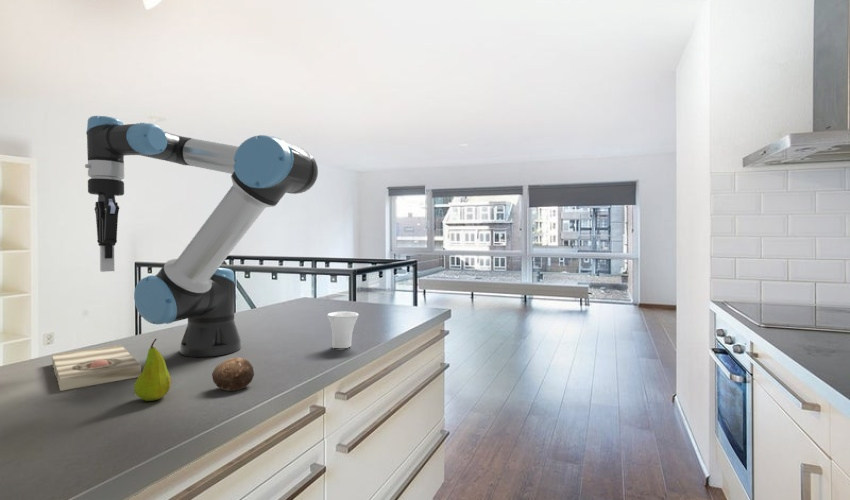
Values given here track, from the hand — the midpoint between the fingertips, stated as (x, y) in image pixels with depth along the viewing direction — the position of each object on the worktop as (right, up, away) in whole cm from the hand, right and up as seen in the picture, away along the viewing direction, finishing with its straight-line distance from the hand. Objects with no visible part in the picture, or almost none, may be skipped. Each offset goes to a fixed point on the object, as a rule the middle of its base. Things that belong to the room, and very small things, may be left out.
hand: (107, 271), depth 112 cm
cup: (+58, -23, +14) cm, 64 cm away
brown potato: (+41, -24, -20) cm, 52 cm away
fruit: (+29, -24, -27) cm, 46 cm away
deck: (+5, -23, -10) cm, 25 cm away
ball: (+8, -21, -13) cm, 26 cm away
